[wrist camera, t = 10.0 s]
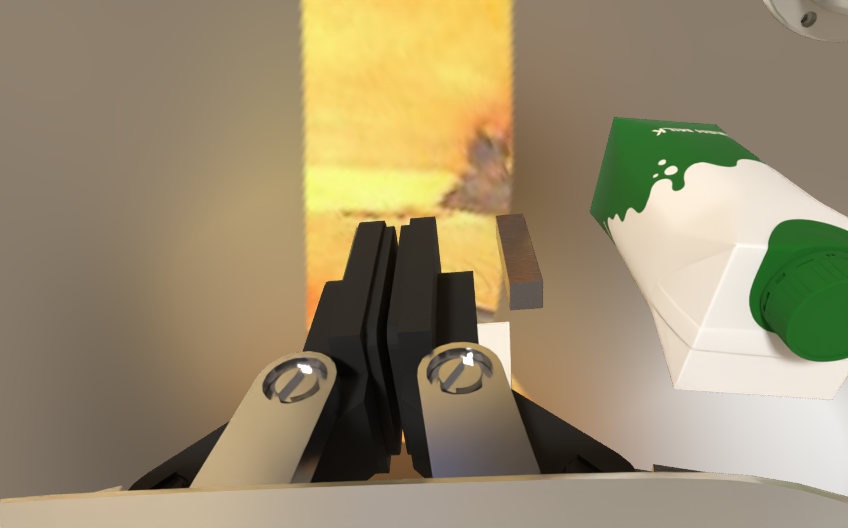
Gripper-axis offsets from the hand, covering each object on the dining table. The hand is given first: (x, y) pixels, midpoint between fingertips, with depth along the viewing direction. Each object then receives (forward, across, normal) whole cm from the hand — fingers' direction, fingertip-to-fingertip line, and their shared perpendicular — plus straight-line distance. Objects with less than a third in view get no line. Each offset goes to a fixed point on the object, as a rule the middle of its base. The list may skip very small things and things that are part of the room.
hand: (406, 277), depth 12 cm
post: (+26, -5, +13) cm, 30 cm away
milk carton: (+26, -14, +10) cm, 32 cm away
